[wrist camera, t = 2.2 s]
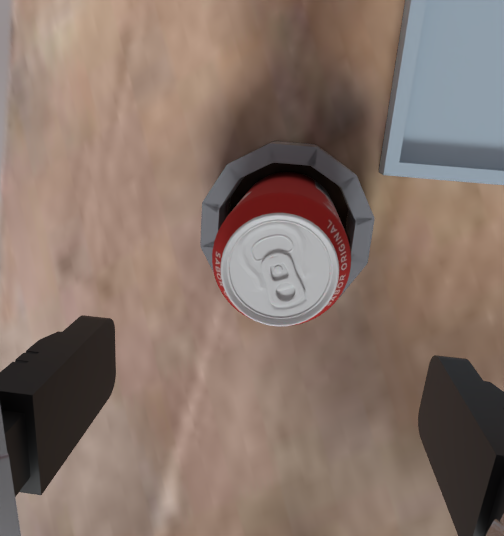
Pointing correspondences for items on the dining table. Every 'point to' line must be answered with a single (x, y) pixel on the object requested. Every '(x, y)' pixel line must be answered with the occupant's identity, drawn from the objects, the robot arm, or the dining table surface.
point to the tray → (448, 93)
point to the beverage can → (282, 251)
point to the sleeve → (300, 154)
